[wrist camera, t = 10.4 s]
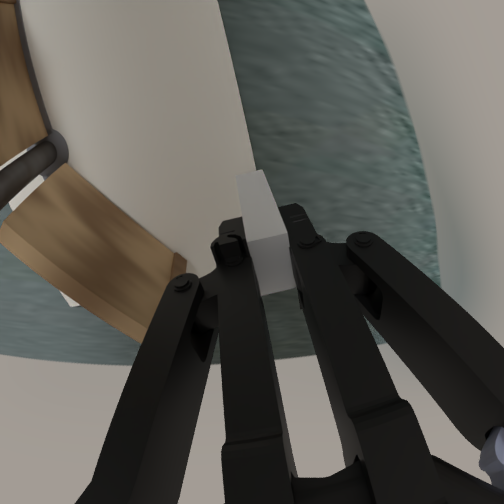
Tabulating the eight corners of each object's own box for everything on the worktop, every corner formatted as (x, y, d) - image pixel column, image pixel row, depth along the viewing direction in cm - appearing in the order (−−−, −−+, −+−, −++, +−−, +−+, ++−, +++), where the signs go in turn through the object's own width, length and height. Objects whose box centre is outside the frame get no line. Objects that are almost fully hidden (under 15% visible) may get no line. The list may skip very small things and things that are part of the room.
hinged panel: (54, 178, 16) (-10, 246, 10) (67, 159, 15) (-1, 223, 9) (171, 273, 21) (160, 363, 15) (187, 260, 20) (180, 351, 14)
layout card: (-38, 35, 9) (-44, 36, 8) (194, -86, 8) (193, -91, 8) (72, 302, 23) (70, 307, 22) (274, 258, 22) (275, 264, 22)
